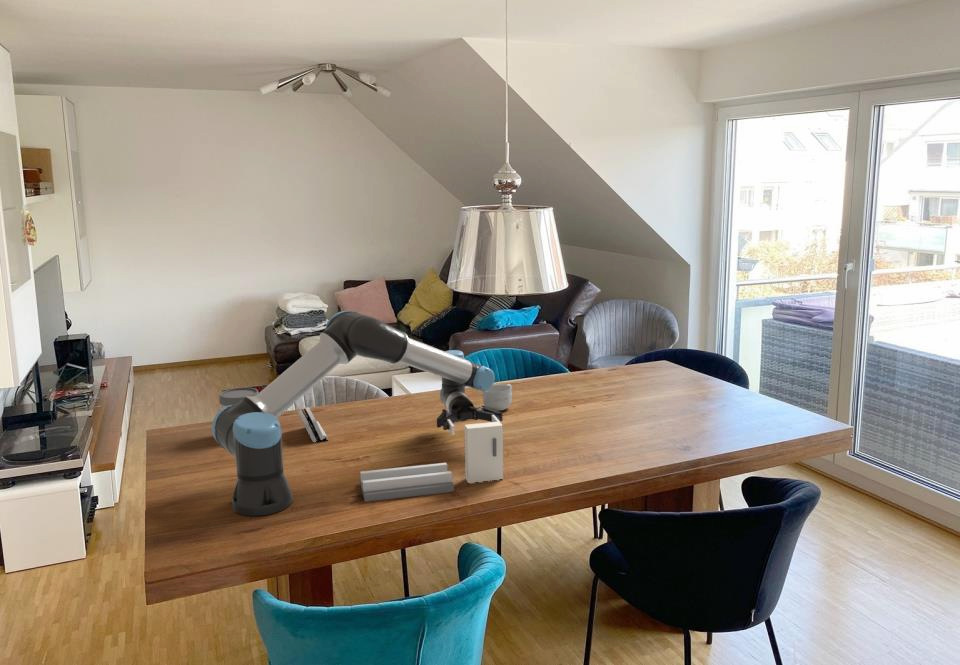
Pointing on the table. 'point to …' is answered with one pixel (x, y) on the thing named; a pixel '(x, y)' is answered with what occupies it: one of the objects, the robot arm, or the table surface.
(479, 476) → the door panel
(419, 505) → the table surface
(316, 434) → the white and black console
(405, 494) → the track
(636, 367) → the table surface
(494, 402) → the teacup
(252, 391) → the reusable coffee cup
